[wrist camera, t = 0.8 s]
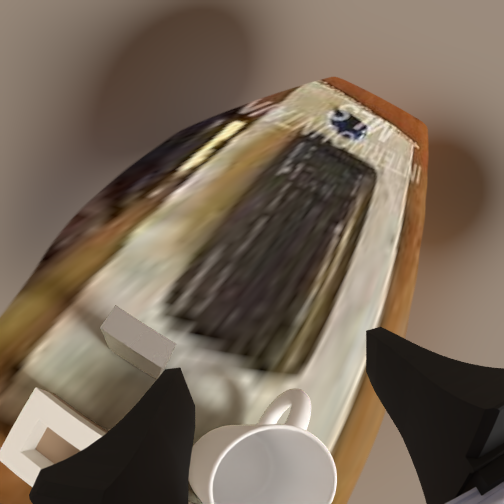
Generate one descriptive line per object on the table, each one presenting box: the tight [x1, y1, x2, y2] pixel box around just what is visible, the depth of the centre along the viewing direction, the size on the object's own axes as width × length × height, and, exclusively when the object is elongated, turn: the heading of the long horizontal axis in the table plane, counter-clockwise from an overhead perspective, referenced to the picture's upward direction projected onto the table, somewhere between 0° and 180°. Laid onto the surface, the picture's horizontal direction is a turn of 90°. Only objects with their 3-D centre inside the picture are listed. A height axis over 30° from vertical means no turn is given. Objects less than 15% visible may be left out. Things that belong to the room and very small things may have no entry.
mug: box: [188, 389, 337, 504], centre depth 20 cm, size 12×8×10 cm
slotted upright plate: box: [0, 387, 194, 504], centre depth 17 cm, size 7×18×6 cm, turn 65°
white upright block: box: [100, 305, 176, 379], centre depth 23 cm, size 2×5×7 cm, turn 65°
